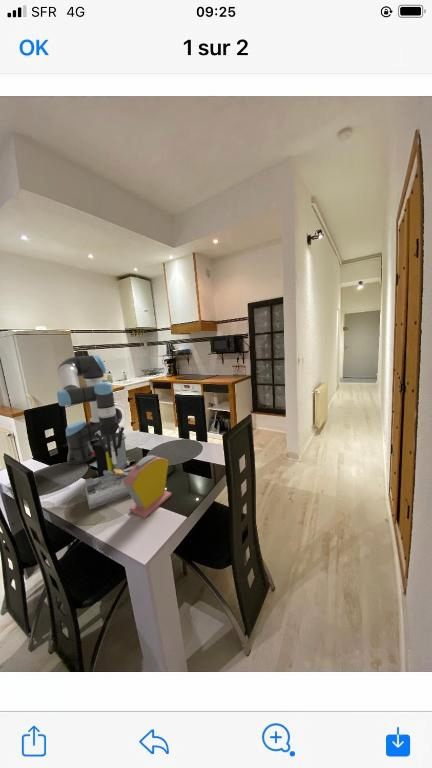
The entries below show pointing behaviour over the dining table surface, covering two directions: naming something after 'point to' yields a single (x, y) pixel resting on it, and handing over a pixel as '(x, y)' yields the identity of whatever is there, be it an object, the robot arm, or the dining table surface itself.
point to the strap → (116, 473)
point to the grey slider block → (92, 484)
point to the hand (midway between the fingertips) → (114, 463)
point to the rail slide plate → (107, 490)
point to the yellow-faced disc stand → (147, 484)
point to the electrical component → (105, 461)
